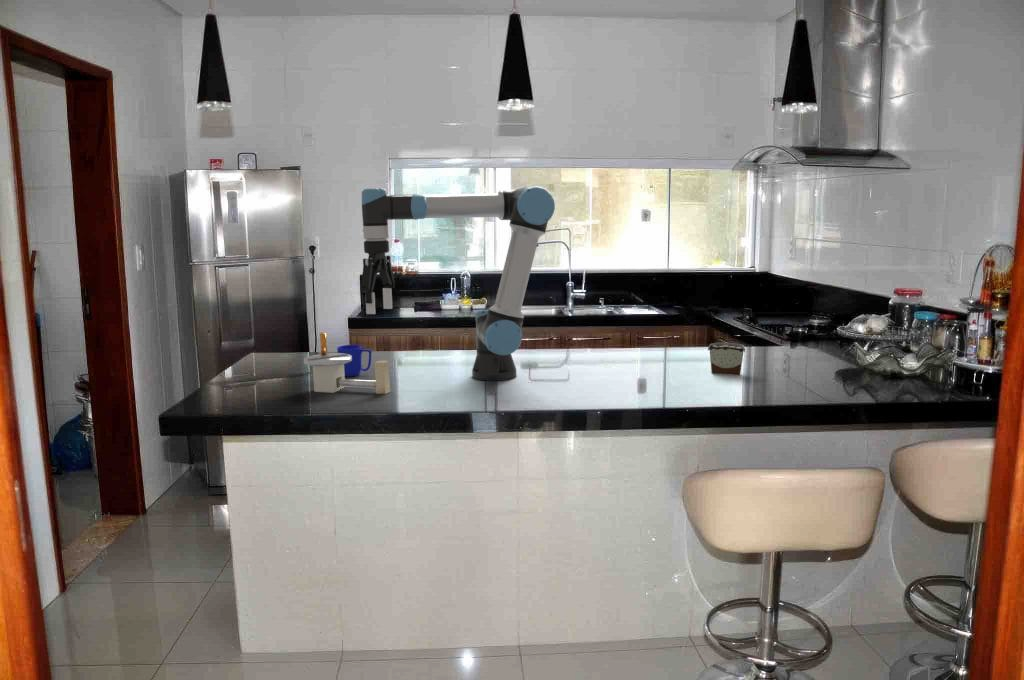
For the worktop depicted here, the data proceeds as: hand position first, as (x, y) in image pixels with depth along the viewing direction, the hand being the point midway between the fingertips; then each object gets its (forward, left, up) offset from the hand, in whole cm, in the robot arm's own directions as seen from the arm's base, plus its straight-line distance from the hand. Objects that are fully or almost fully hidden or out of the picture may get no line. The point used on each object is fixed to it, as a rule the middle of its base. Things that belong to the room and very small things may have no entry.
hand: (379, 311), depth 242 cm
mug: (+21, -21, -26) cm, 40 cm away
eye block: (+19, 0, -26) cm, 32 cm away
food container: (-103, -52, -26) cm, 118 cm away
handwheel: (+19, 0, -17) cm, 25 cm away
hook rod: (+11, 0, -26) cm, 28 cm away
